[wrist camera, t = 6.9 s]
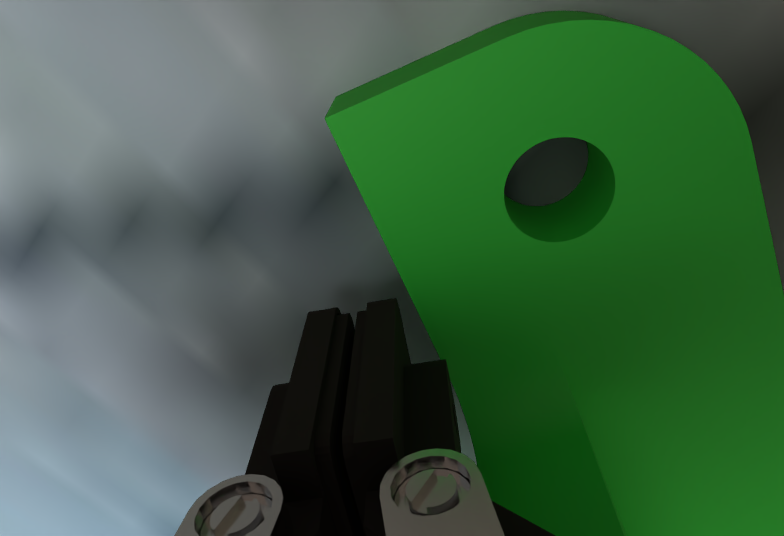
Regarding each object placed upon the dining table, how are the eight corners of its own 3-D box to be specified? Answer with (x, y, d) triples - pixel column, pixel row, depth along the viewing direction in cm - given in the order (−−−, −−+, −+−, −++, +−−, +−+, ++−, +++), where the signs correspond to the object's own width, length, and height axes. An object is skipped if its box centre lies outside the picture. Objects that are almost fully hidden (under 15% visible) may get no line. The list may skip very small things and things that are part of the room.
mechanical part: (784, 463, 16) (1110, 904, 8) (541, 533, 17) (643, 973, 9) (660, -52, 11) (1151, -67, 4) (337, 94, 12) (229, 299, 5)
